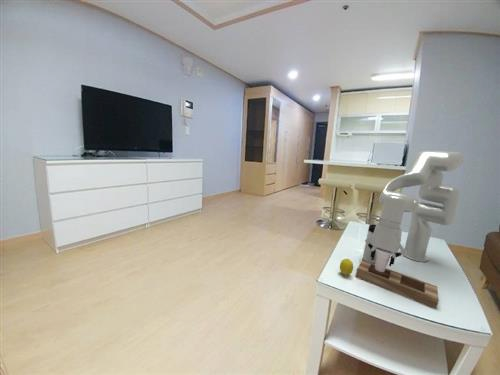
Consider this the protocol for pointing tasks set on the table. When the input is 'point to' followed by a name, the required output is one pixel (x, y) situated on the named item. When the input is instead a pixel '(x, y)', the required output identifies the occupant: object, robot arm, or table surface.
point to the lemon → (346, 266)
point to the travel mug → (367, 250)
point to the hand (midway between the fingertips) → (381, 261)
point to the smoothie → (382, 259)
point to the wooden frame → (399, 284)
